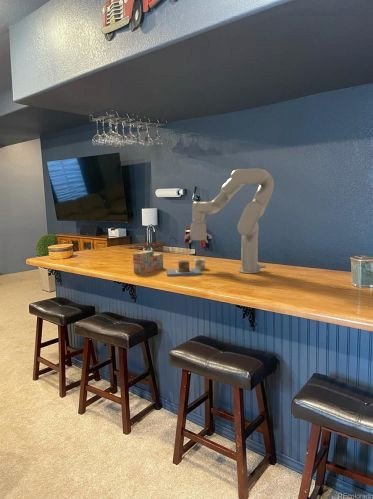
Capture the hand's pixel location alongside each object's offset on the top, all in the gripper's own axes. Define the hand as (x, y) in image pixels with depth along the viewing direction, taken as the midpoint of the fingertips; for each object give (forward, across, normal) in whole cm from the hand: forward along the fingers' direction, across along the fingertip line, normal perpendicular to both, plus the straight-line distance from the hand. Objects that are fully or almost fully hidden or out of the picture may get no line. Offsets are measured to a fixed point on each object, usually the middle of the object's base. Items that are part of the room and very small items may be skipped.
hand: (198, 249), depth 233 cm
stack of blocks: (+14, +31, -1) cm, 34 cm away
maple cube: (+12, -1, 0) cm, 13 cm away
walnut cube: (+11, +10, +12) cm, 20 cm away
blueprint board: (+12, +10, +12) cm, 20 cm away
